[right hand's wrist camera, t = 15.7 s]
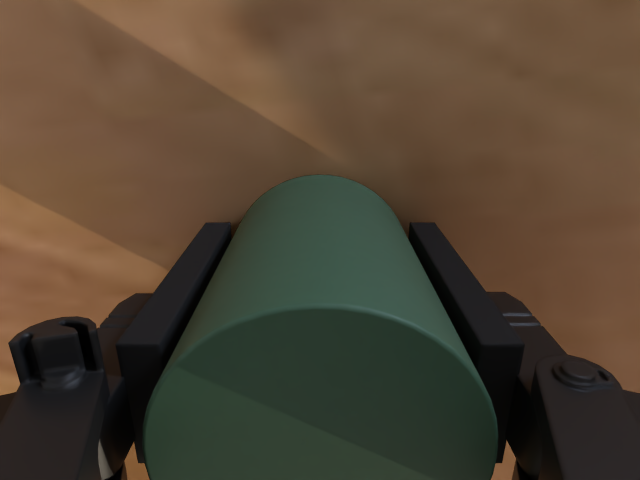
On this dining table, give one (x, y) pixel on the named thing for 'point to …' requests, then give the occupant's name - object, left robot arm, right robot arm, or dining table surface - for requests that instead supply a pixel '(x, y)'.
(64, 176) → the dining table surface
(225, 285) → the dark green cylinder
